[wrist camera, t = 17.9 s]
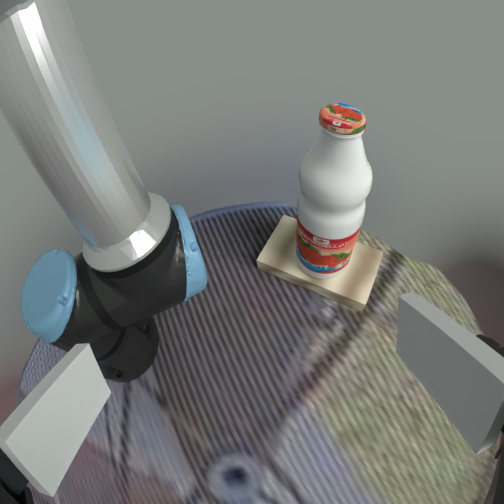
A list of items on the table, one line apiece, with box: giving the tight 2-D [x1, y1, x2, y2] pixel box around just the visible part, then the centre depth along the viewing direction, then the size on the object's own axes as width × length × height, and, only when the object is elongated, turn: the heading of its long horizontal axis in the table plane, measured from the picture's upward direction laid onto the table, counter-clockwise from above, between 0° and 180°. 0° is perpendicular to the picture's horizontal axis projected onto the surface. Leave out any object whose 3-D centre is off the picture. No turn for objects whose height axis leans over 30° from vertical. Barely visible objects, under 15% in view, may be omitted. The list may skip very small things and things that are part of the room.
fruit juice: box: [296, 103, 372, 279], centre depth 38 cm, size 9×9×28 cm
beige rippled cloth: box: [256, 215, 383, 312], centre depth 52 cm, size 20×11×3 cm, turn 62°
